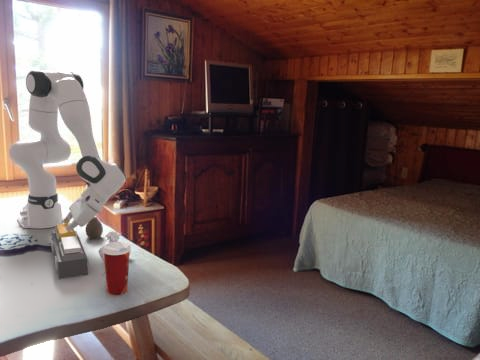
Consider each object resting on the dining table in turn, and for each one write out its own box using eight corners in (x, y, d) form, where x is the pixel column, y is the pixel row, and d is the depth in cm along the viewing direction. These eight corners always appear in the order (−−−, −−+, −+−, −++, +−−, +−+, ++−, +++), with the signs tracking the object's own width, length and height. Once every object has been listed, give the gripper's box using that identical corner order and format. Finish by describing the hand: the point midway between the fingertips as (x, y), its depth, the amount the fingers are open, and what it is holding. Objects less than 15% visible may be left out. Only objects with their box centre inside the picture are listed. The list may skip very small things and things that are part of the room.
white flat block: (61, 241, 142) (60, 237, 141) (76, 240, 144) (76, 235, 144) (64, 254, 131) (64, 249, 131) (80, 251, 134) (80, 247, 134)
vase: (97, 241, 167) (96, 221, 165) (82, 239, 168) (81, 219, 167) (106, 235, 174) (105, 216, 172) (91, 234, 175) (91, 214, 173)
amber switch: (56, 228, 156) (56, 224, 156) (70, 226, 159) (70, 222, 158) (59, 237, 146) (59, 233, 146) (74, 236, 148) (74, 232, 148)
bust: (129, 261, 154) (123, 233, 158) (135, 254, 149) (129, 226, 153) (98, 267, 147) (92, 238, 151) (103, 261, 142) (96, 231, 146)
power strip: (50, 247, 157) (50, 228, 156) (76, 244, 162) (76, 225, 160) (57, 279, 131) (56, 256, 130) (87, 274, 136) (87, 252, 134)
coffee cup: (135, 291, 127) (135, 246, 124) (112, 299, 120) (111, 252, 117) (121, 282, 132) (121, 239, 129) (97, 290, 126) (97, 244, 123)
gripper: (82, 188, 162) (56, 213, 159) (90, 200, 145) (61, 229, 142) (94, 198, 165) (69, 223, 162) (103, 211, 148) (75, 239, 145)
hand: (65, 226), depth 152 cm, fingers open, 8 cm apart
